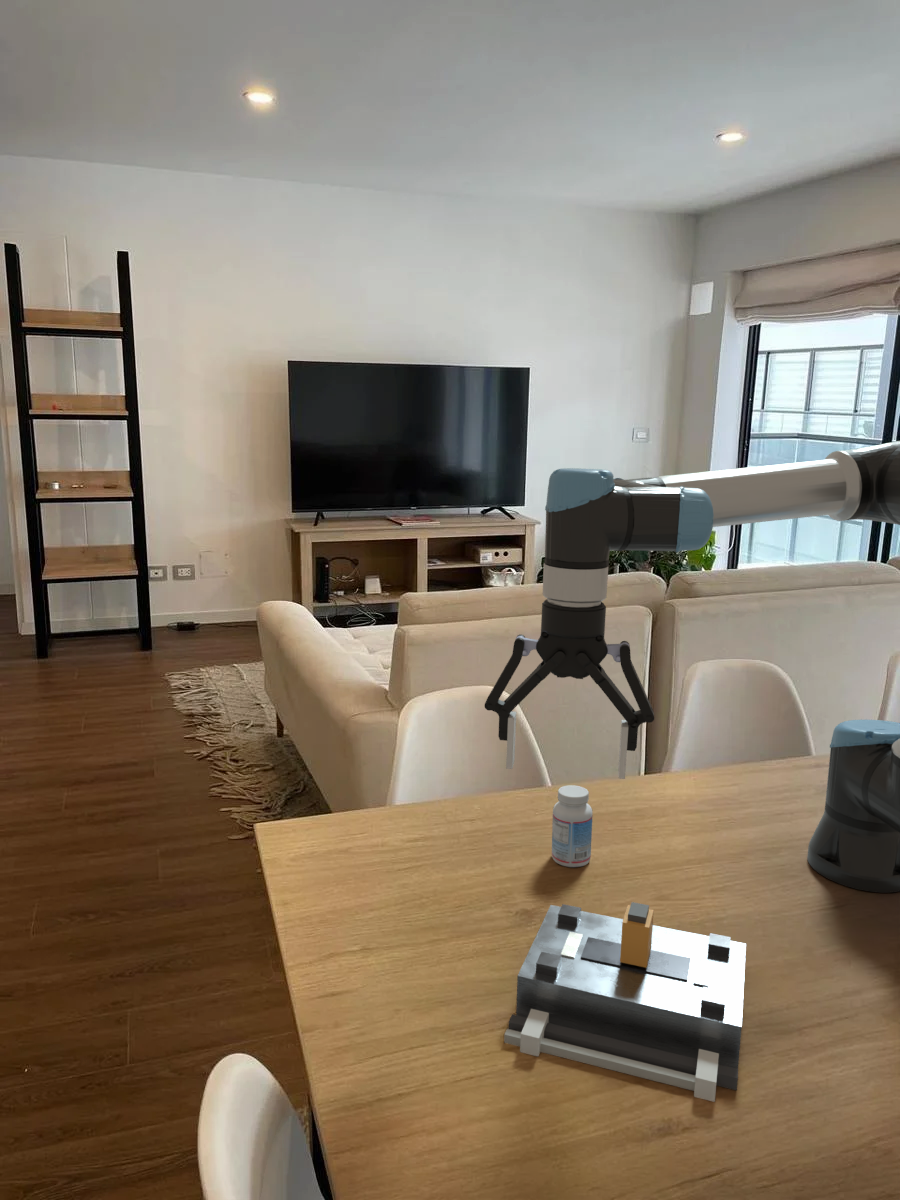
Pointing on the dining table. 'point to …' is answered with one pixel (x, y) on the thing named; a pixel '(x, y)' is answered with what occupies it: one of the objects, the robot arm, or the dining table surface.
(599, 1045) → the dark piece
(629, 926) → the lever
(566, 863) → the pill bottle
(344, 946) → the dining table surface
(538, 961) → the panel
